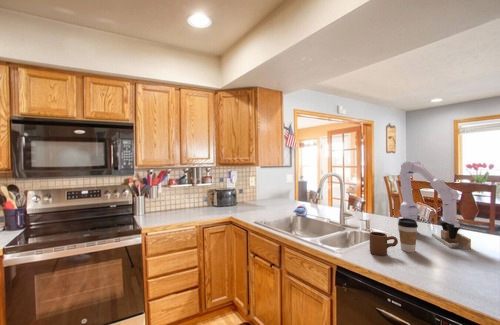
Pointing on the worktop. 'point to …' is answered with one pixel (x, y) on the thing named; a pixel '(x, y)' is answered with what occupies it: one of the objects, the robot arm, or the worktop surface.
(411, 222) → the coffee cup
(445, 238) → the cabinet block
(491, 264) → the worktop surface
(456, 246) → the board
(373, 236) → the mug
